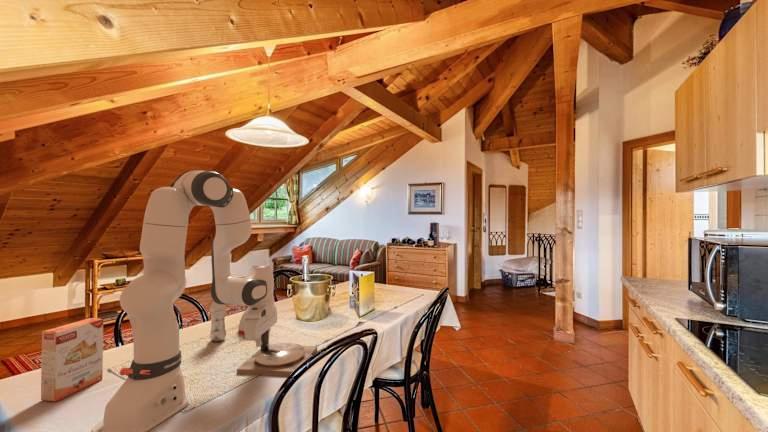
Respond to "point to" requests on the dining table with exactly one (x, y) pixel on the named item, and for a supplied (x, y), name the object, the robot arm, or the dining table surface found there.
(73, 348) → the cracker box
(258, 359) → the dial
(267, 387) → the dining table surface
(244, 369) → the dial base
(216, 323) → the plastic bottle
